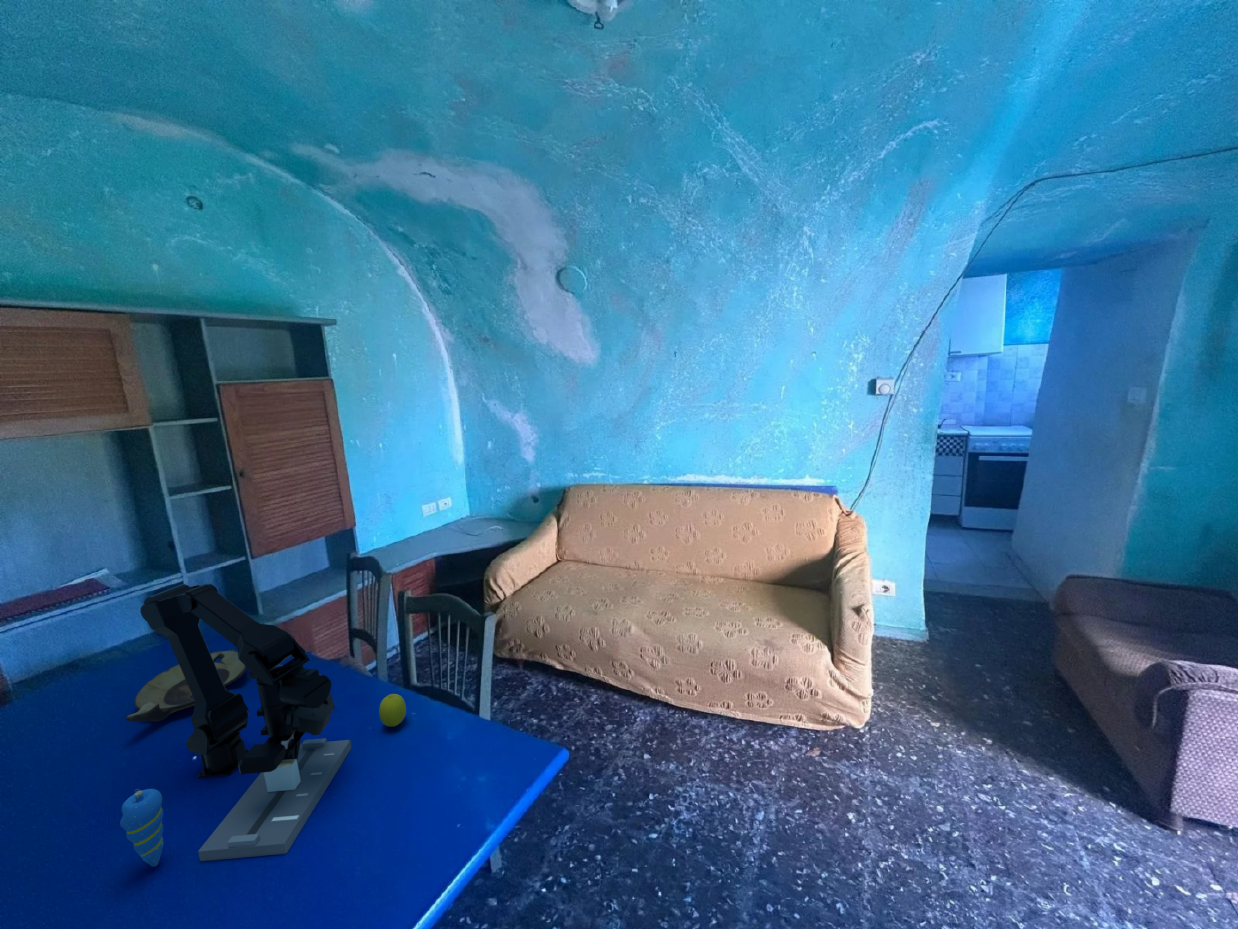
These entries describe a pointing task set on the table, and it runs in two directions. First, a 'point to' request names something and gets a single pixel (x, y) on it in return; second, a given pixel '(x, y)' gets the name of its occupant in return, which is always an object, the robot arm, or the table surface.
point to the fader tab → (283, 776)
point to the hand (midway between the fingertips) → (292, 767)
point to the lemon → (392, 710)
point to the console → (276, 807)
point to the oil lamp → (179, 688)
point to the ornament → (144, 824)
